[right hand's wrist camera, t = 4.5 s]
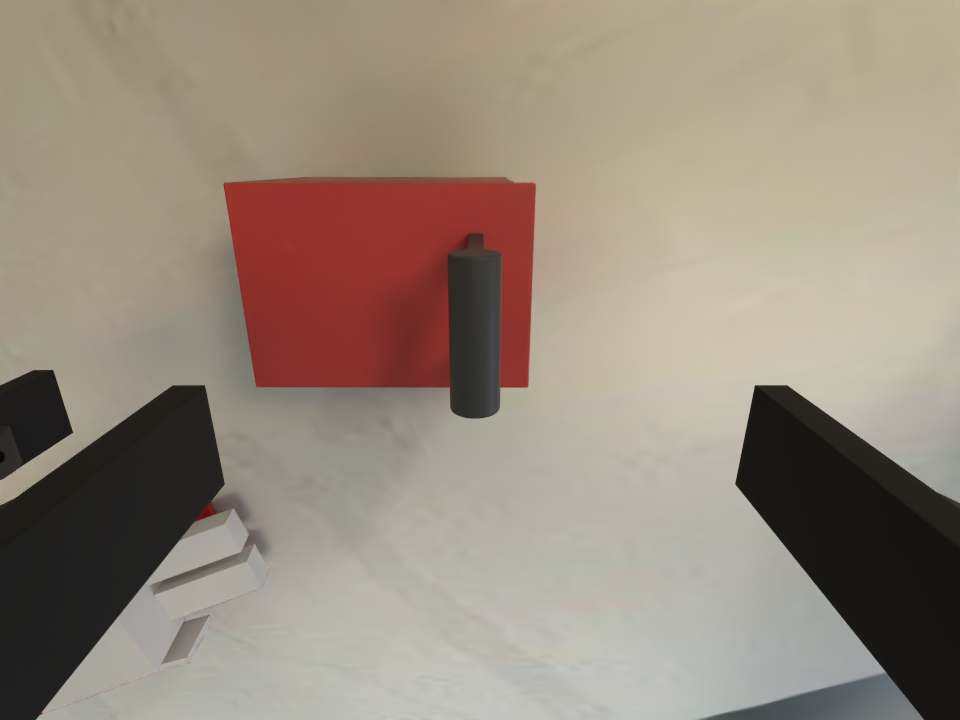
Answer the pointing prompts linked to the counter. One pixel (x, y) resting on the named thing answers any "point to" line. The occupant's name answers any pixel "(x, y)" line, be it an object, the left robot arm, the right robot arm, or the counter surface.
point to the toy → (171, 607)
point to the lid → (387, 285)
